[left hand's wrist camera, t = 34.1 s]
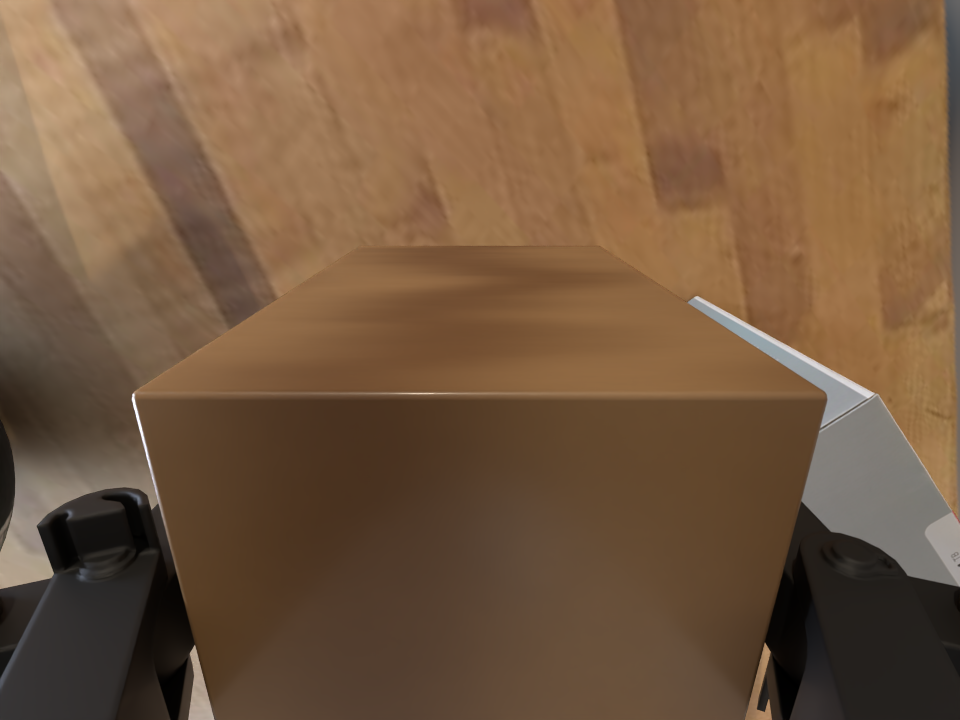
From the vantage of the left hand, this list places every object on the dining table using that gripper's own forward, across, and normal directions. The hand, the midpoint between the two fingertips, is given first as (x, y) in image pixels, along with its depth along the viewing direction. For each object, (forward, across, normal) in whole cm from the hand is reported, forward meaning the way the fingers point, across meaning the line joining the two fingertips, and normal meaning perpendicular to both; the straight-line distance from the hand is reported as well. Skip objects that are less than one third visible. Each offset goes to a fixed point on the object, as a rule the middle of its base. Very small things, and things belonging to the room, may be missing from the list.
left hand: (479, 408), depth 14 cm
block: (+3, 0, 0) cm, 3 cm away
